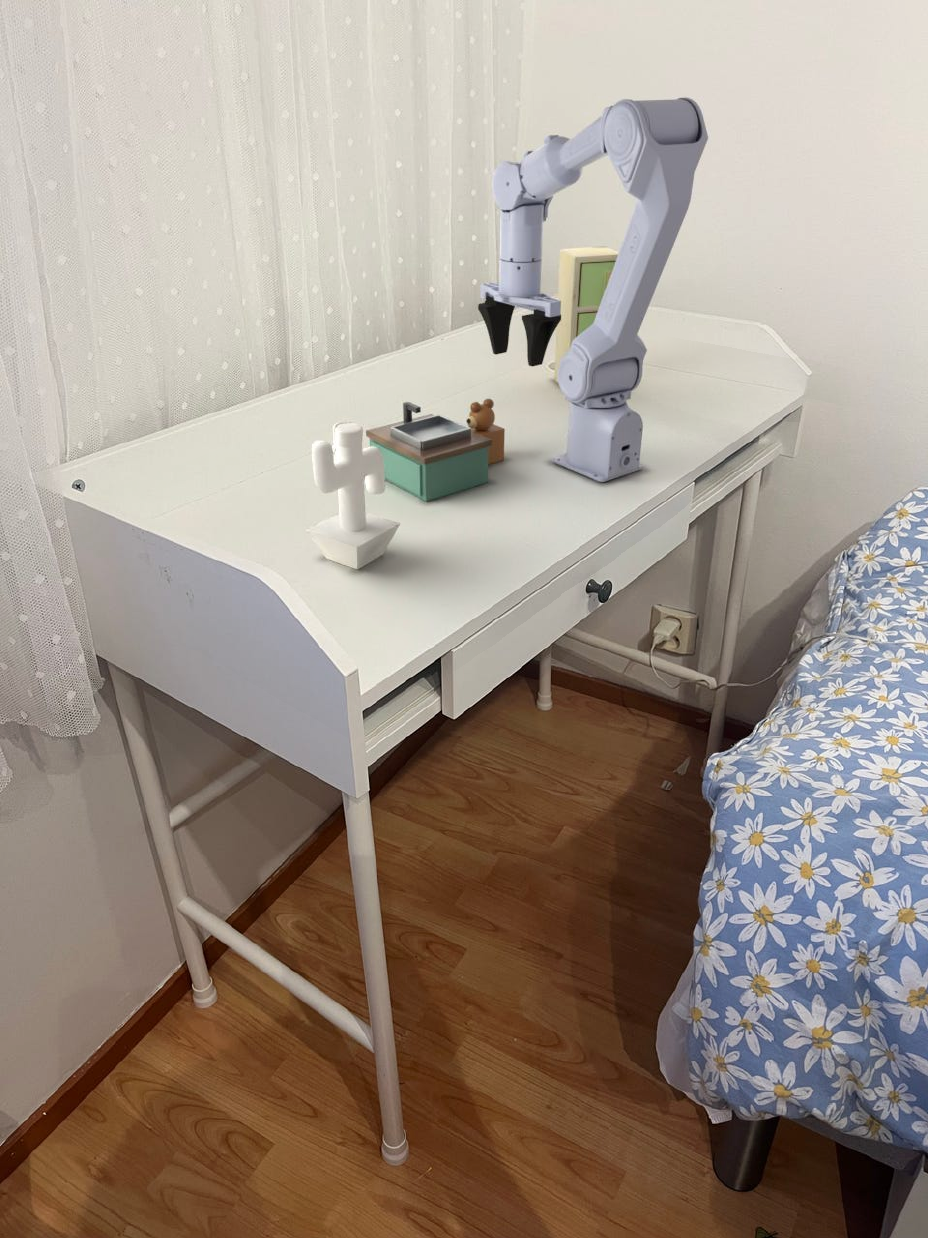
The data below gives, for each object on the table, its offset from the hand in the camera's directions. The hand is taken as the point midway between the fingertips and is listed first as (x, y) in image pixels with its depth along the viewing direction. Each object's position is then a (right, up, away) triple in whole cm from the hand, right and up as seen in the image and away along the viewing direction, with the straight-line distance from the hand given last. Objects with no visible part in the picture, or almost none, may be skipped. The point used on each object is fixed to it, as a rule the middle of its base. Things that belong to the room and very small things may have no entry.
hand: (517, 358), depth 138 cm
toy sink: (-12, -19, -12) cm, 25 cm away
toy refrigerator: (+12, +1, +22) cm, 25 cm away
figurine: (-20, -30, -32) cm, 48 cm away
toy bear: (-5, -16, -7) cm, 18 cm away
